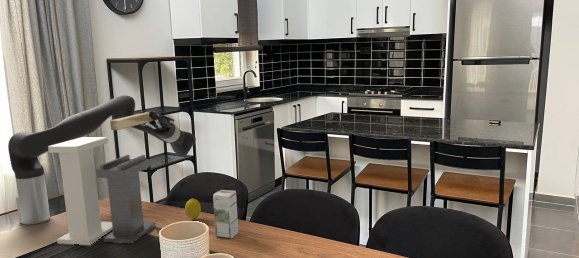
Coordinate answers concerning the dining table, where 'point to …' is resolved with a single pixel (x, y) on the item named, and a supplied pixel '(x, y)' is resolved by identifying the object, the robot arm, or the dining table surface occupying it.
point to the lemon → (193, 208)
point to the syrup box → (225, 213)
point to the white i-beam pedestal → (81, 190)
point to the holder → (125, 198)
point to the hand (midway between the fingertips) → (145, 113)
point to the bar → (130, 121)
